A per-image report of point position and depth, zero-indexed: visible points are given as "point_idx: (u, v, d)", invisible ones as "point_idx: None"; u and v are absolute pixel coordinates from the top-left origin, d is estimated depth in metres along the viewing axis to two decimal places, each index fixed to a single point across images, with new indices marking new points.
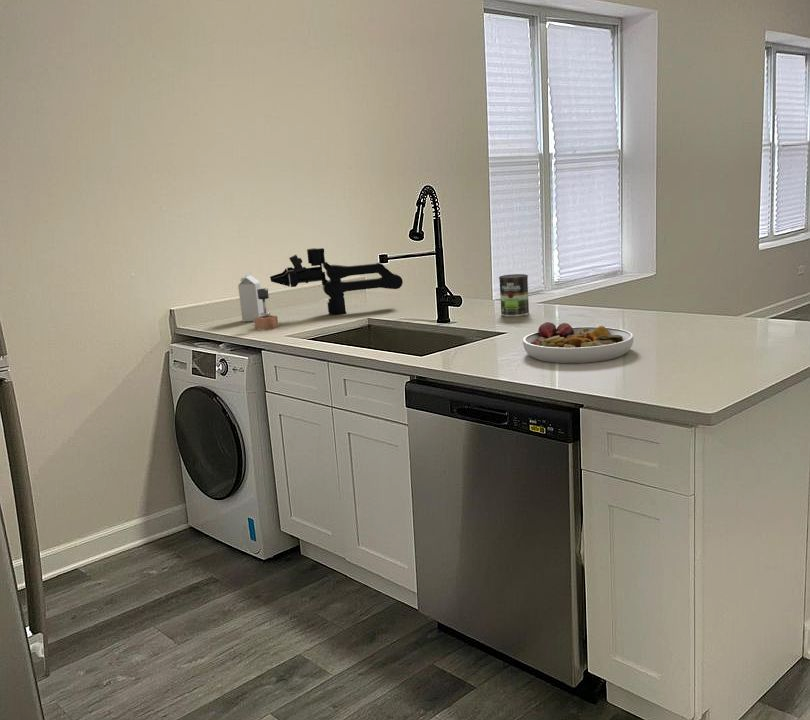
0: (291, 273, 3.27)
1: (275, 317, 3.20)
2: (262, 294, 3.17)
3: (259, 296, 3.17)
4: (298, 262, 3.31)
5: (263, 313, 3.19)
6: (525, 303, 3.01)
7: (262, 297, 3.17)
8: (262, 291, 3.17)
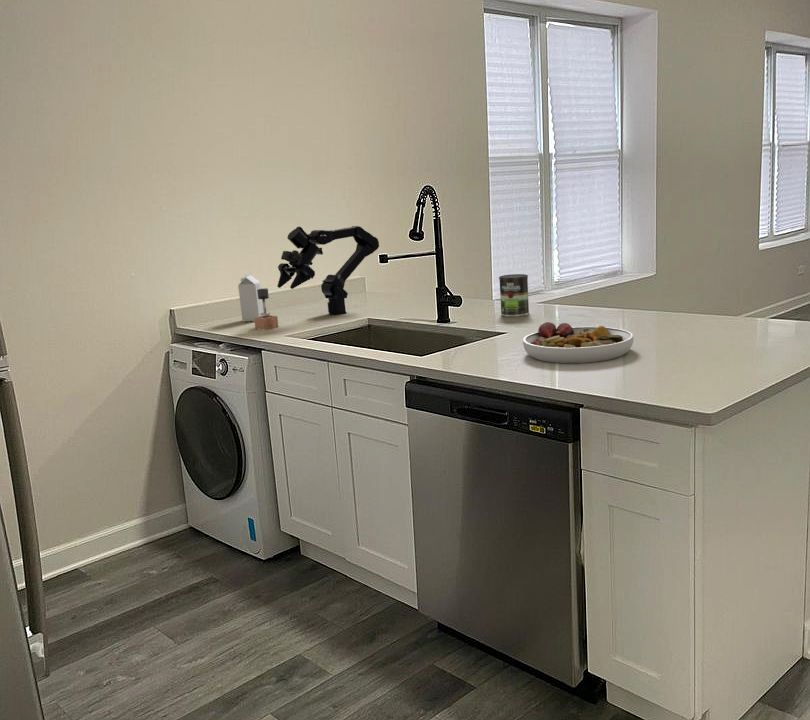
0: (305, 268, 3.19)
1: (275, 317, 3.20)
2: (262, 294, 3.17)
3: (259, 296, 3.17)
4: (296, 255, 3.22)
5: (263, 313, 3.19)
6: (525, 303, 3.01)
7: (262, 297, 3.17)
8: (262, 291, 3.17)
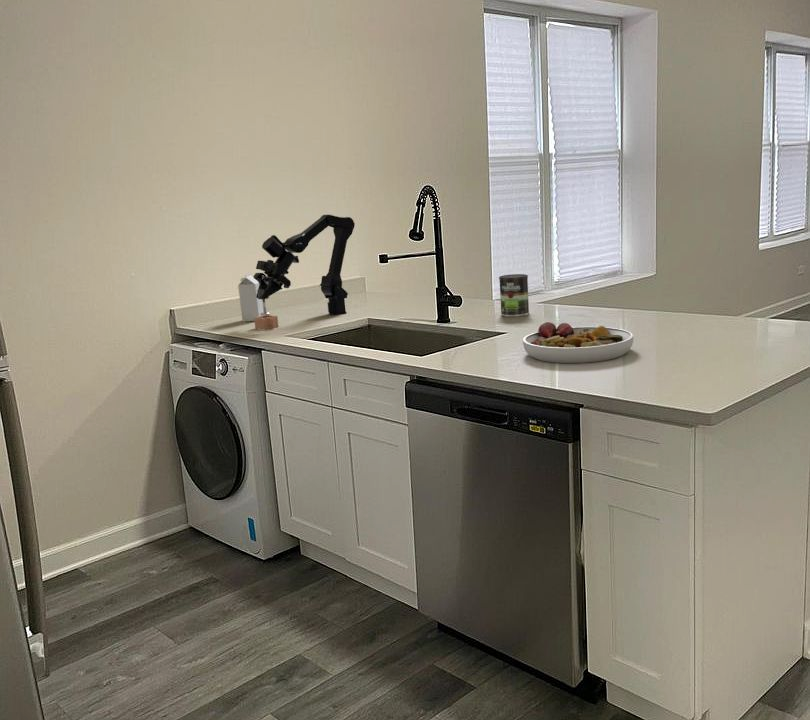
0: (280, 278, 3.12)
1: (275, 317, 3.20)
2: (262, 294, 3.17)
3: (259, 296, 3.17)
4: (271, 264, 3.15)
5: (263, 313, 3.19)
6: (525, 303, 3.01)
7: None
8: (262, 291, 3.17)
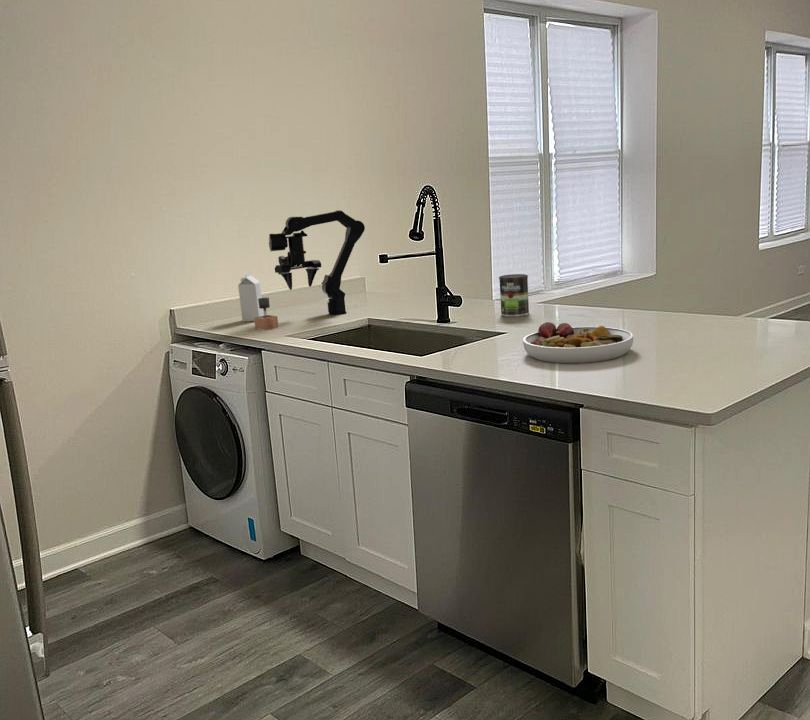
0: (275, 270, 3.30)
1: (275, 317, 3.20)
2: (263, 304, 3.17)
3: (260, 305, 3.18)
4: (280, 260, 3.35)
5: None
6: (525, 303, 3.01)
7: (263, 306, 3.18)
8: (263, 300, 3.17)
